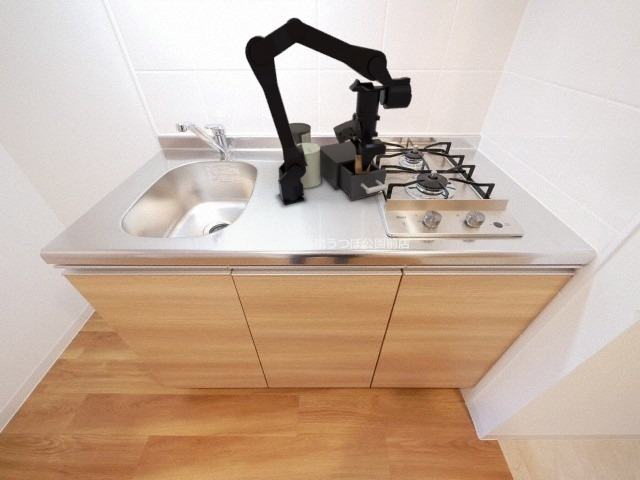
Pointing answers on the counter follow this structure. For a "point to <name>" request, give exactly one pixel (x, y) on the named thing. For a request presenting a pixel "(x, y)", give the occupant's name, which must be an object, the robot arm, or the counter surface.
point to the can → (311, 165)
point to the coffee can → (301, 132)
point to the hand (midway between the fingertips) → (361, 167)
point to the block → (359, 165)
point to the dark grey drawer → (361, 180)
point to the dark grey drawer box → (335, 160)
